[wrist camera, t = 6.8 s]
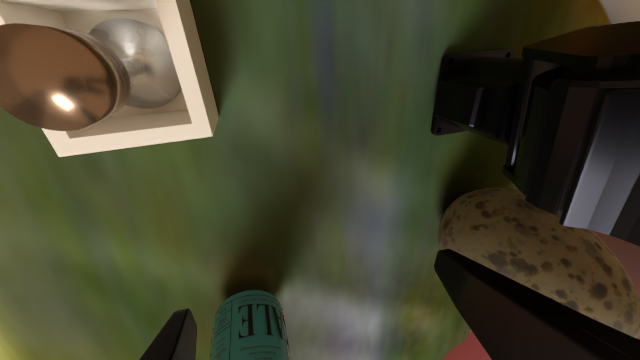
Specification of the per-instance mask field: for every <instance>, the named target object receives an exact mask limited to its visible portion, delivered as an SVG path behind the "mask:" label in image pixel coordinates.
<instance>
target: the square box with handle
mask: <svg viewBox="0 0 640 360" xmlns="http://www.w3.org/2000/svg"><path fill="white" fill-rule="evenodd" d="M112 18H127V19H133V20H136V21H140V22H143V23H145V24H148V25H150V26H152V27H154V28H155V29H157V30H158V31H160V32H161V33H162V34H163V35H165V36H166V39H167V43H168V46H169V49H170V52H171V56H172V59H173V62H174V65H175V69H176V72H177V75H178V79H179V82H180V85H181V88H182V89H181V90H180V92H179V94H178V95H177V96H176V97H175V98H174V99H173V100H172V101H170V102H169V103H167V104H165V105H163V106H161V107H158V108H152V109H141V108H135V107H131V106H128V105H124V106H123V107H122V108H121V109H120V110H119V111H117V112H115V113H113V114H111V115H109V116H107V117H105V118H104V119H102V120H100V121H98V122H96V123H94V124H92V125H90V126H88V127H85V128H82V129H79V130H74V131H54V130H48V129H44V128H42V130H43V131H44V133H45V135H46V136H47V138H48V140H49V141H50V143H51V145H52V146H53V148H54V150H55V151H56V153H57V155H58V156H59V157H63V156H71V155H78V154H85V153H93V152H100V151H108V150H115V149H123V148H130V147H137V146H145V145H152V144H160V143H167V142H174V141H182V140H189V139H197V138H204V137H211V136H213V134H214V131H215V128H216V125H217V121H218V118H219V115H218V111H217V107H216V103H215V99H214V95H213V91H212V87H211V83H210V79H209V75H208V71H207V67H206V63H205V59H204V55H203V51H202V47H201V43H200V39H199V36H198V32H197V28H196V24H195V20H194V16H193V12H192V8H191V4H190V0H0V25H4V24H11V23H23V24H31V25H40V26H48V27H57V28H66V29H73V30H77V31H81V32H84V33H86V34H89V32H90V31H91V30H92V29H93V28H94V27H95V26H96V25H97V24H99V23H100V22H103V21H105V20H108V19H112Z"/></svg>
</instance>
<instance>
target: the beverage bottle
mask: <svg viewBox="0 0 640 360" xmlns="http://www.w3.org/2000/svg"><path fill="white" fill-rule="evenodd" d="M280 305H281V304H279V302H278V300H277V298H276V297H275V296H274V295H272V294H271V293H268V292H266V291H261V290H248V291H243V292H240V293H237V294H235V295H233V296H231V297H229V298H228V299H226V300H225V301H224V302H223V303H222V304H221V305H220V307H219V309H218V311H217V313H216V315H215V320H214V329H213V330H214V332H213V331H212V333H213V343H212V341H211V344H212V354H211V352H210V356H211V360H289V357H288V350H287V344H288V338H287V340H286V338H285V335H286V334H287V332H286V334H285V331H284V325H283V321H284V316H283V314H282V312H281V310H282V309H283V308H281V306H280ZM282 317H283V318H282ZM284 324H285V321H284ZM285 329H286V326H285ZM286 343H287V344H286ZM288 347H289V345H288ZM290 358H291V357H290Z"/></svg>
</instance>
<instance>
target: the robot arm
mask: <svg viewBox="0 0 640 360" xmlns="http://www.w3.org/2000/svg"><path fill="white" fill-rule="evenodd" d="M505 56H506V57H505ZM512 57H513V50H512V49H497V50H486V51H474V52H462V53H451V54H446V55H445V56H444V57H443V59H442V63H441V69H440V76H439V82H438V88H437V95H436V101H435V108H434V114H433V121H432V127H431V132H432V134H434V135H444V134H450V133H457V132H463V131H470V132H473V133H476V134H478V135H481V136H484V137H487V138H489V139H492V140H495V141H498V142H501V143H503V144H506V145H509V146H508V152H507V158H506V164H505V165H504V166H503V174H504V175H506V176H507V177H508V178H509V179H510V180H511V181H512V182H513V183H514V184H515V186H516V187H517V188H518V189H519V190H520V191H521V192H522V193H523V195H525V201H526V202H528V203H529V204H531V205H533V206H535V207H536V208H538V209H540V210H542V211H545V212H547V213H550V214H552V215H556V216H558V217H561V218H560V221H559V224H561V225H563V226H569V227H576V228H583V229H588V230H592V231H596V232H600V233H604V234H607V235H611V236H614V237H616V238H619V239H622V240H625V241H628V242H630V243H632V244H635V245H638V246H640V21H635V22H625V23H617V24H608V25H599V26H590V27H585V28H582V29H578V30H575V31H572V32H569V33H566V34H563V35H559V36H556V37H553V38H550V39H547V40H543V41H540V42H537V43H534V44H531V45H528V46H524V47H523V52H522V57H524V58H512ZM449 58H450V62H449V63H448V60H449ZM437 128H438V130H437ZM436 130H437V131H436ZM434 268H435V271H436V273H437V275H438V277H439V279H440V280H441V282H442V284H443V286H444V287H445V289H446V291H447V293H448V294H449V296H450V298H451V300H452V302H453V303H454V305H455V307H456V308H457V310H458V311H459V313H460V314H461V316H462V317H463V319H464V320H465V322H466V323H467V324H468V326H469V327H470V329H471V330H472V332H473V333H474V334H475V336H476V337H477V339H478V340H479V342H480V343H481V345H482V346H483V348H484V349H485V350H486V352H487V353H488V355H489V356H490V358H491V359H492V360H640V340H639V339H637V338H635V337H632V336H630V335H628V334H625V333H623V332H621V331H619V330H616V329H614V328H612V327H610V326H608V325H605V324H603V323H601V322H599V321H597V320H595V319H592V318H590V317H588V316H586V315H584V314H582V313H580V312H578V311H576V310H574V309H572V308H570V307H568V306H566V305H562V304H561V303H559V302H557V301H555V300H553V299H551V298H549V297H547V296H545V295H543V294H541V293H539V292H537V291H535V290H533V289H531V288H529V287H527V286H525V285H523V284H521V283H519V282H517V281H515V280H512V279H510V278H508V277H506V276H504V275H502V274H500V273H498V272H496V271H494V270H492V269H490V268H488V267H486V266H484V265H482V264H480V263H478V262H476V261H474V260H472V259H470V258H468V257H466V256H464V255H462V254H460V253H458V252H455V251H453V250H451V249H442V250H439V251H438V253H437V256H436V260H435V264H434ZM196 339H197V325H196V322H195V320H194V317H193V315H192V313H191V311H190V309H183V310H178V311H176V312H174V313H173V314H172V316H171V317H170V318H169V320H168V321H167V322H166V324H165V325H164V327H163V328H162V329H161V331H160V332H159V334H158V335H157V336H156V338H155V339H154V340H153V342H152V343H151V345H150V346H149V347H148V349H147V350H146V351H145V353H144V354H143V356H142V357H141V358H140V360H195V354H196Z"/></svg>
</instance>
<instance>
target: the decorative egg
mask: <svg viewBox="0 0 640 360" xmlns="http://www.w3.org/2000/svg"><path fill="white" fill-rule="evenodd" d="M560 218H561V217H558V216H556V215H552V214H550V213H547V212H545V211H542V210H540V209H538V208H536V207H535V206H533V205H531V204H529V203H528V202H526V201H525V195H523V193H522V192H521V191H520V190H517V189H511V188H484V189H479V190H475V191H472V192H468V193H466V194H464V195H462V196H460V197H459V198H457V199H456V200H455V201H454V202H453V203H451V205H450V206H449V207H448V208H447V210H446V211H445V212H444V214H443V216H442V219H441V221H440V225H439V231H438V242H439V248H440V250H442V249H451V250H453V251H455V252H458V253H460V254H462V255H464V256H466V257H468V258H470V259H472V260H474V261H476V262H478V263H480V264H482V265H484V266H486V267H488V268H490V269H492V270H494V271H496V272H498V273H500V274H502V275H504V276H506V277H508V278H510V279H512V280H515V281H517V282H519V283H521V284H523V285H525V286H527V287H529V288H531V289H533V290H535V291H537V292H539V293H541V294H543V295H545V296H547V297H549V298H551V299H553V300H555V301H557V302H559V303H561V304H562V305H566V306H568V307H570V308H572V309H574V310H576V311H578V312H580V313H582V314H584V315H586V316H588V317H590V318H592V319H595V320H597V321H599V322H601V323H603V324H605V325H608V326H610V327H612V328H614V329H616V330H619V331H621V332H623V333H625V334H628V335H630V336H632V337H635V338H638V337H639V336H640V298H639V296H638V294H637V291H636V289H635V287H634V285H633V283H632V281H631V279H630V277H629V276H628V274H627V272H626V270H625V269H624V267H623V266H622V264H621V263H620V262H619V260H618V259H617V258H616V256H615V255H614V254H613V252H612V251H611V250H610V249H609V248H608V247H607V246H606V244H605V243H604V242H603V241H602V240H601V239H600V238H599V237H598V236H597V235H596V234H595V233H594V232H593V231H592V230H588V229H583V228H576V227H569V226H563V225H561V224H559V221H560Z"/></svg>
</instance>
